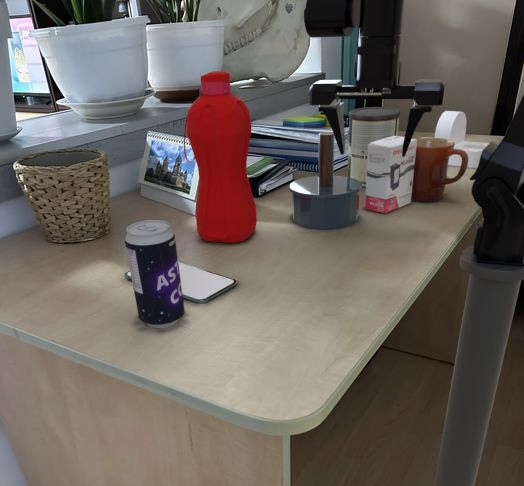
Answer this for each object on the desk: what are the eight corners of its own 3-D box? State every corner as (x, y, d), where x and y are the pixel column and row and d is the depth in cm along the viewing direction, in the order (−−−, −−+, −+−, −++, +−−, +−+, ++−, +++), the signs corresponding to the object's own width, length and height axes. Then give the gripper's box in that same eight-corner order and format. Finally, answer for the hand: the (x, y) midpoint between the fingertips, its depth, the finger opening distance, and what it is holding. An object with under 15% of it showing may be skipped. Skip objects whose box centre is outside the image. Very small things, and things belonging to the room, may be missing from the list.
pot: (362, 210, 101) (364, 180, 98) (350, 231, 92) (352, 199, 89) (302, 206, 104) (302, 178, 102) (285, 226, 95) (284, 195, 92)
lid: (375, 195, 92) (379, 135, 87) (308, 206, 89) (308, 144, 84) (340, 178, 102) (342, 123, 97) (278, 188, 99) (277, 131, 94)
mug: (392, 199, 106) (396, 144, 100) (415, 188, 111) (420, 135, 106) (449, 210, 99) (457, 151, 93) (471, 198, 104) (480, 142, 99)
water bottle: (204, 224, 98) (188, 69, 85) (262, 228, 95) (254, 67, 82) (182, 242, 91) (161, 75, 78) (244, 247, 88) (233, 74, 74)
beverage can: (165, 335, 64) (149, 238, 58) (130, 324, 67) (111, 231, 61) (194, 315, 69) (183, 222, 62) (160, 305, 71) (146, 216, 65)
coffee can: (338, 178, 120) (340, 110, 113) (378, 172, 123) (383, 105, 116) (361, 190, 112) (364, 116, 105) (404, 183, 115) (410, 111, 108)
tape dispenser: (420, 151, 139) (425, 106, 133) (491, 159, 129) (500, 110, 123) (403, 159, 133) (407, 112, 127) (476, 168, 123) (484, 117, 117)
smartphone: (240, 284, 76) (161, 259, 84) (240, 280, 76) (160, 256, 84) (202, 305, 71) (121, 277, 79) (201, 302, 70) (120, 273, 79)
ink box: (385, 214, 98) (390, 146, 92) (363, 209, 101) (367, 143, 95) (411, 203, 103) (418, 137, 97) (389, 198, 106) (394, 134, 100)
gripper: (453, 31, 78) (439, 145, 86) (326, 35, 83) (324, 142, 91) (450, 34, 69) (435, 161, 77) (307, 39, 74) (307, 157, 82)
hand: (372, 154), depth 82 cm, fingers open, 9 cm apart
